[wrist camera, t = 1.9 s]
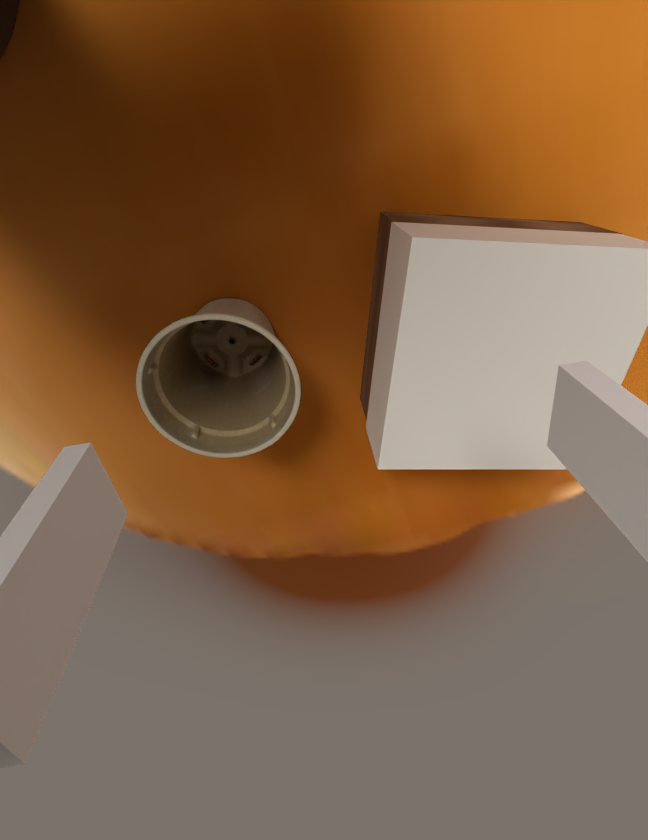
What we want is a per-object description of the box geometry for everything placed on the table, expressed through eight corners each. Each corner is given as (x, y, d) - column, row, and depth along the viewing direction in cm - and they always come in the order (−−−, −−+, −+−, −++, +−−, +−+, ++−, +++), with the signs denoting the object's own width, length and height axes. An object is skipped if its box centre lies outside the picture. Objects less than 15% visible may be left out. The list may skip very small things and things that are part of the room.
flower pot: (317, 305, 33) (327, 352, 26) (270, 409, 37) (267, 475, 30) (189, 251, 30) (159, 286, 23) (154, 369, 34) (120, 431, 27)
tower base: (359, 395, 38) (368, 427, 33) (379, 211, 30) (394, 222, 26) (520, 397, 39) (549, 429, 35) (576, 221, 32) (622, 233, 27)
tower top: (365, 427, 33) (377, 469, 29) (391, 221, 26) (412, 237, 22) (546, 429, 35) (583, 469, 30) (619, 233, 27) (680, 250, 23)
